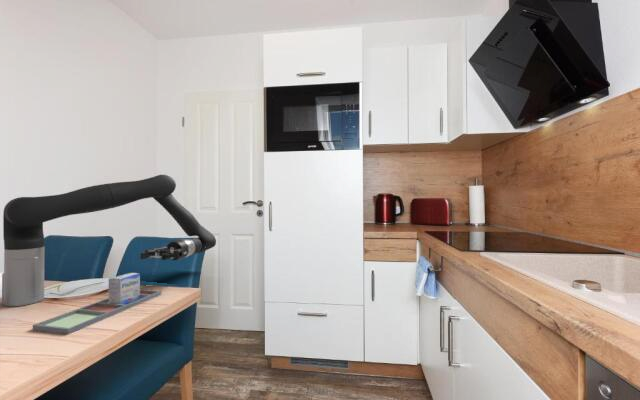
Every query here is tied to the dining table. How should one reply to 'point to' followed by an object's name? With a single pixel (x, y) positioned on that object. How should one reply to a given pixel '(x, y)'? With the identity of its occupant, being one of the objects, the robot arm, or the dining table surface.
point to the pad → (72, 320)
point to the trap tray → (97, 309)
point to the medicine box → (124, 288)
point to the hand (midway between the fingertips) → (151, 256)
